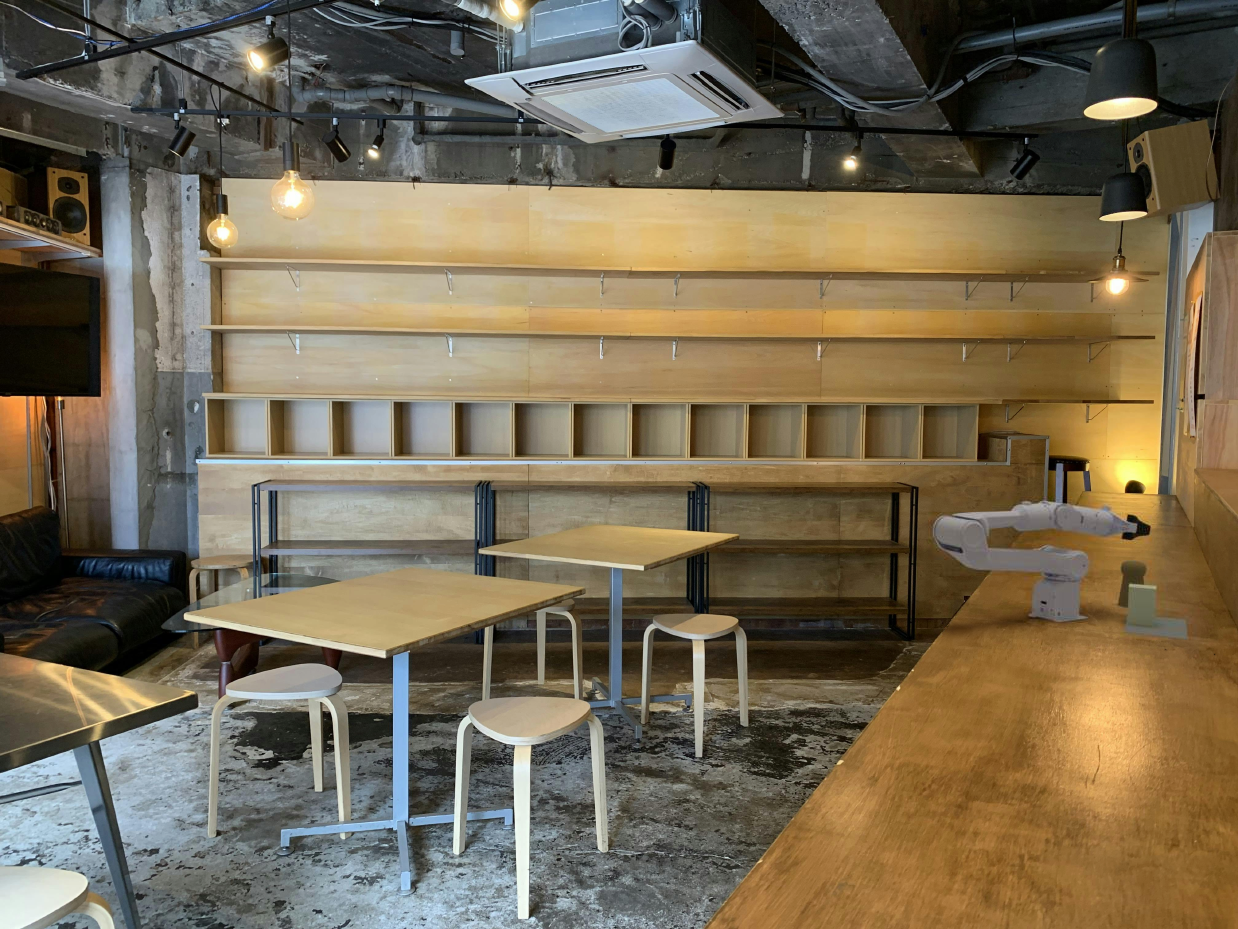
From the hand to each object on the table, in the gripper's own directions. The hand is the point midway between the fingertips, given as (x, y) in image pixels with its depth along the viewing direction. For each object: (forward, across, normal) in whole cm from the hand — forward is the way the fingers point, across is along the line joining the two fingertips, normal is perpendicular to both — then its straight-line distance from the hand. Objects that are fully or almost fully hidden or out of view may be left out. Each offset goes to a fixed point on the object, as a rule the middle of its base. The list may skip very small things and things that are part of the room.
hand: (1134, 528), depth 202 cm
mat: (-5, -14, +20) cm, 25 cm away
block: (-6, -11, +20) cm, 24 cm away
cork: (+7, +3, +19) cm, 20 cm away
